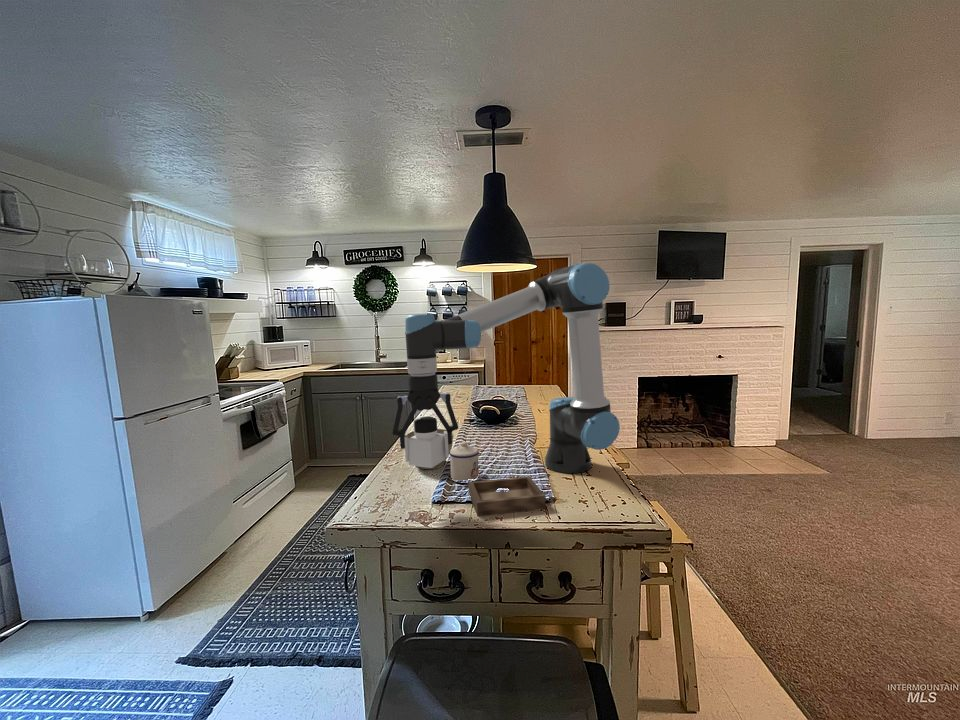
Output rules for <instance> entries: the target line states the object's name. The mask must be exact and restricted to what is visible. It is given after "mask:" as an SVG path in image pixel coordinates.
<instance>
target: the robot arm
mask: <svg viewBox="0 0 960 720" xmlns="http://www.w3.org/2000/svg"><path fill="white" fill-rule="evenodd" d="M610 286H611V285H610V280H609V277H608V274H607V273H606V272H605V270H604V269H603V268H602V267H600V266H599V265H598V264H595V263H593V262H584V263H582V262H581V263H576V264H574V265H570V266H566V267H561V268H557V269H555V270H554V271H552V272H550V273H548V274H546V275H544V276H542V277H541V278H540V277H539V278H538V279H536V280H533V281H531V282H530V283H529V284H528V286H527V287H525V288H523V289H519V290H518V291H515V292H512V293H510V294H507V295H504V296H502V297H500V298H497V299H495V300H492V301H489V302H487V303H484V304H481V305H479V306H477V307H474V308H472V309H470V310H466V311H464V312H462V313H459V314H457V315H453V316H452V317H449V318H447V319H441V320H436V319H435V315H434V314H432V313H424V314H423V313H422V314H421V313H420V314H408V315H407V316H406V317H405V332H404V334H405V344H406V345H405V346H406V363H407V366H406V367H407V373H408V375H409V376H408V377H407V379H408V382H407V383H408V393H407V395H404V396H401V395H398V396H397V398H396V401H397V402H396V403H397V409H396V413H395V416H394V417H395V418H394V421H393V422H394V423H393V427H392V432H391V433H392V435H393V436H398V437H399V445H400V449H404V452H405V463H407V462H408V463H409V456H408V438H407V434H408V433H407V431H408V429H409V428H410V427H409V426H410V425H411V423H412V421H413V418H415V417H414V416H415V415H416V413H417V412H418V411H420V412H421V411H424V410H426V411H431V410H433V412H434V413H435V415H436V416H437V418H438V419H439V421H440V423H441V424H442V426H443V427H444V429H445V430H447V431H444V443H445V457H446V458H447V459H448V458H449V457H450V454H449V453H448V444H452V432H454V431H457V430H458V429H459V425H458V422H457V419H456V416H455V413H454V409H453V406H452V404H451V403H452V402H451V398H452V397H451V394H450V392H445V393H443V392H442V393H441V392H439V381H438V375H437V372H438V365H437V364H438V363H437V360H438V359H437V351H444V350H461V349H464V350H465V349H466V350H469V349H474V348H477V347H479V346H480V344H481V341H482V333H483V332H487V331H488V330H491V329H493V328H496V327H499V326H501V325H503V324H505V323H507V322H508V323H509V322H510V321H513V320H515V319H517V318H520V317H522V316H525V315H527V314H530V313H532V312H535V311H538V312H543V311H546V310H548V309H552V308H558V307H561V313H562V315H563V316H565V318H567V323H568V335H569V346H570V358H571V359H570V361H571V368H572V369H571V371H572V381H573V382H572V383H573V394H574V396H566V397H557V398H553V399H552V398H551V400H550V402H549V410H548V411H549V441H550V442H549V444H548V448H547V451H546V454H545V457H544V463H545V464H544V466H545V467H546V468H547V469H549V470H551V471H554V472H558V473H563V474H577V473H584V472H586V471H589V470H591V468H592V459H591V455H590V453H589V449H592V450H596V451H597V450H599V451H600V450H605V449H607V448H608V447H610V446H612V445H613V444H614V441H615V440H617V438H618V435H619V434H620V421H619V418H618V417H617V416H616V414H614V413H612V410H611V400H610V399H608V398H607V397H606V396H605V390H604V389H605V388H604V378H603V365H602V364H603V362H602V351H601V340H600V339H601V337H600V336H601V335H600V323H599V315H600V314H601V313H602V311H603V310H604V307H603V306H604V304H603V302H604V301H605V299H606V298H607V296H608V295H609V292H610ZM440 399H442V402H444V403H445V406H446V408H447V413H448V416H449V418H450V419H449V420H450V421H451V425H450V424H449V423H448V421H447V420H446V417H444V415H443V414H442V412H441V410H440V409H439V407H438V405H437V403H438V401H439V400H440ZM407 401H408V402H409V403H410V404H411V405H412V406H411V407H410V411H409V412H408V415H407V416H406V419H404V423H403V424H402V427H401V429H399V426H400V423H401V418H402V413H403V409H404V408H403V407H404V405H406V403H407ZM452 445H453V444H452ZM588 448H589V449H588Z"/></svg>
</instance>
